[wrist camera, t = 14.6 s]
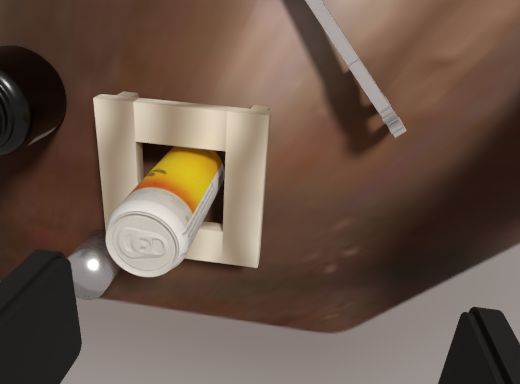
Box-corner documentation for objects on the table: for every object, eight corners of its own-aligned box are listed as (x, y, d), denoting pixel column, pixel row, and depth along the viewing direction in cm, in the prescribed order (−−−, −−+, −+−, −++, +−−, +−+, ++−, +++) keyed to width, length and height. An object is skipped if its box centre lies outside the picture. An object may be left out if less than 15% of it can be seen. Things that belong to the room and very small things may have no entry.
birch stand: (275, 101, 41) (269, 115, 37) (263, 240, 48) (257, 267, 43) (117, 85, 42) (93, 97, 38) (127, 223, 49) (107, 248, 44)
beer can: (164, 136, 44) (94, 204, 30) (225, 140, 43) (181, 211, 30) (168, 192, 47) (105, 277, 33) (226, 196, 46) (185, 285, 32)
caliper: (400, 118, 41) (413, 140, 35) (390, 125, 41) (400, 147, 35) (264, -88, 35) (252, -101, 30) (253, -78, 36) (240, -89, 30)
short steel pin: (128, 231, 49) (103, 262, 44) (130, 269, 51) (107, 302, 46) (84, 226, 50) (55, 255, 44) (89, 263, 52) (61, 296, 47)
